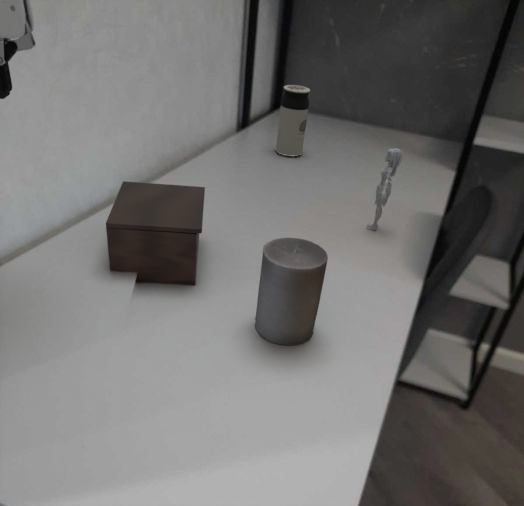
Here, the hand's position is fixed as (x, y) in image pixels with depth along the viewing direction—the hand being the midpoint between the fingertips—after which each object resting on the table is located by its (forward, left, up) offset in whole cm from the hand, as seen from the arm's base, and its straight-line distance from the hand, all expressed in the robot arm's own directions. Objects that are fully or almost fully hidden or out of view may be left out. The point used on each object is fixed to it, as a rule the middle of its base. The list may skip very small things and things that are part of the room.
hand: (0, 95), depth 69 cm
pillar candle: (+41, -9, -29) cm, 51 cm away
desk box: (+19, +12, -29) cm, 37 cm away
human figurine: (+66, +32, -29) cm, 79 cm away
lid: (+19, +12, -19) cm, 30 cm away
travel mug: (+51, +82, -29) cm, 101 cm away
